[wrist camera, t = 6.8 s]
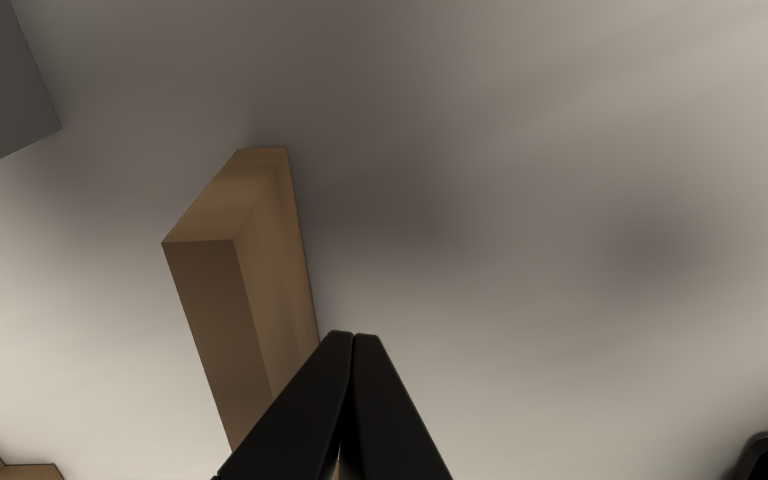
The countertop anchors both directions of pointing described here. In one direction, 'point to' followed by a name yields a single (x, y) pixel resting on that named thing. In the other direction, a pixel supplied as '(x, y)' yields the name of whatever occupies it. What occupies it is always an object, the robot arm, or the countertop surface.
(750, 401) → the countertop surface
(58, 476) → the corral
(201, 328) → the gate
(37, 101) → the block
